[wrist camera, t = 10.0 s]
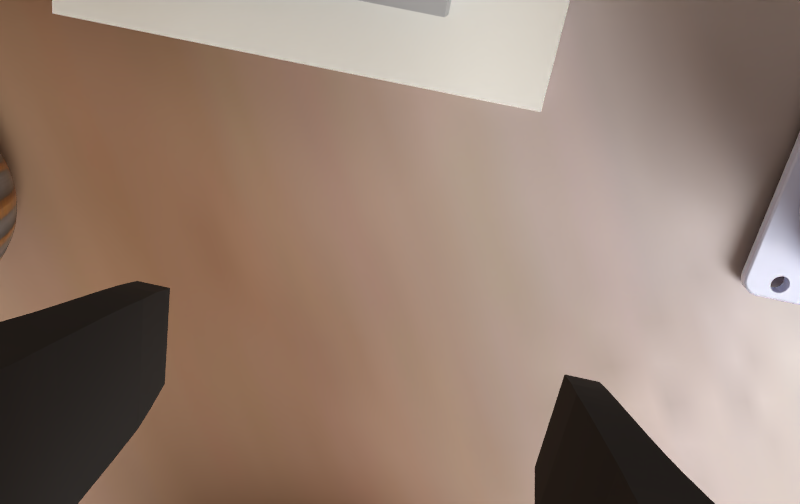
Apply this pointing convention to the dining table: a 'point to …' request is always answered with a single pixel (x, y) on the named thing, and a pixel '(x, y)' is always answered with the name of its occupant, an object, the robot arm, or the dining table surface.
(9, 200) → the vase
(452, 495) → the dining table surface
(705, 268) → the dining table surface
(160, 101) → the dining table surface
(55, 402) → the robot arm
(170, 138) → the dining table surface
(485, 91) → the hub panel
